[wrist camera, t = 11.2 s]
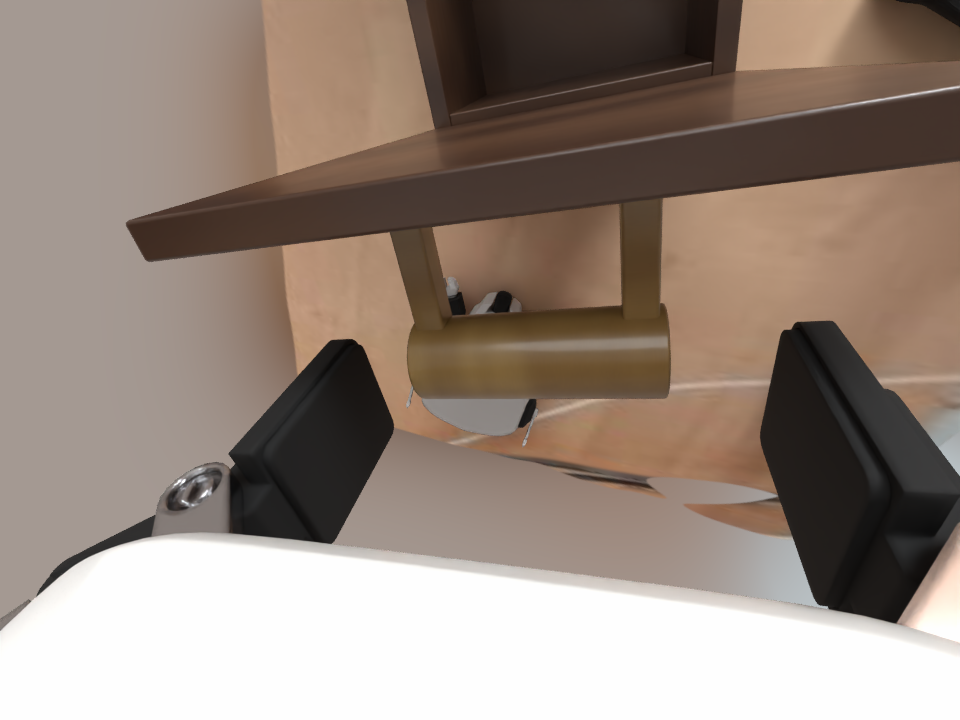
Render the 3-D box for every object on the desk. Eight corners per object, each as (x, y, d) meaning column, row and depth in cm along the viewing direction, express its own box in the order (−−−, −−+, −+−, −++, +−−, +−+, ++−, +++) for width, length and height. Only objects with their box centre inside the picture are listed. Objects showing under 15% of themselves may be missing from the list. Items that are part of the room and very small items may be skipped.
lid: (122, 222, 8) (246, 444, 11) (1175, 49, 4) (969, 470, 7) (432, 130, 23) (453, 235, 25) (738, 70, 19) (726, 203, 21)
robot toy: (443, 258, 39) (417, 389, 48) (428, 277, 35) (402, 416, 44) (578, 301, 39) (527, 426, 47) (577, 325, 35) (522, 456, 43)
